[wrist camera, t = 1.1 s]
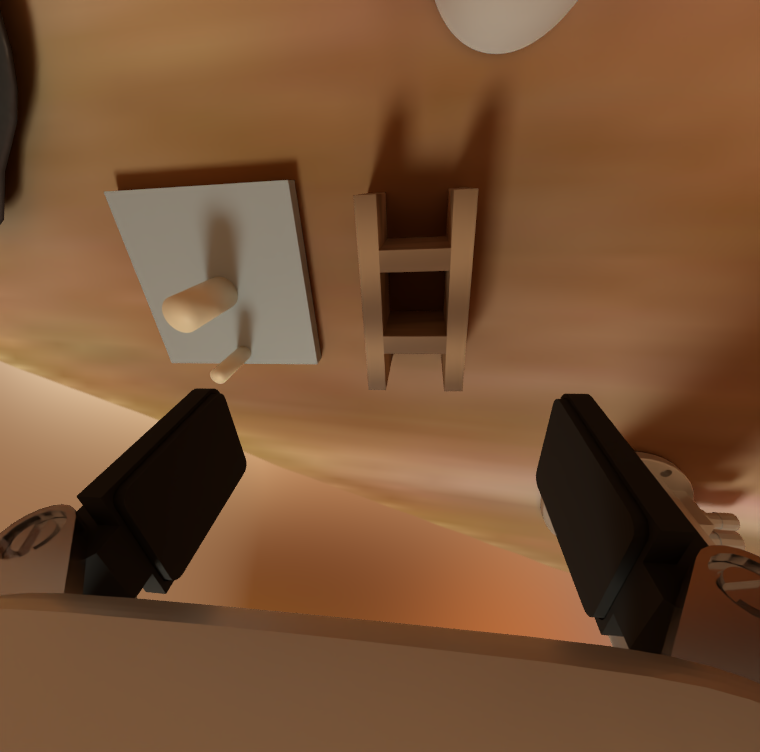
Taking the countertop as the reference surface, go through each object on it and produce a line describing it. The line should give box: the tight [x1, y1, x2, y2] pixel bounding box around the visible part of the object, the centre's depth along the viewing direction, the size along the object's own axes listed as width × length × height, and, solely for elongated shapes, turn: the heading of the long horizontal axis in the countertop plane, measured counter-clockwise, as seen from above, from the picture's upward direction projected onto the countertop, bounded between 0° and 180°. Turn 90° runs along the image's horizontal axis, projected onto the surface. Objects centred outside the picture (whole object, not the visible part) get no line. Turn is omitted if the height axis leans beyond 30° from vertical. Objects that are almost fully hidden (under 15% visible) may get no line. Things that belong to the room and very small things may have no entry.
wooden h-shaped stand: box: [353, 188, 479, 391], centre depth 22 cm, size 12×6×5 cm, turn 3°
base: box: [104, 180, 321, 384], centre depth 23 cm, size 13×13×6 cm
